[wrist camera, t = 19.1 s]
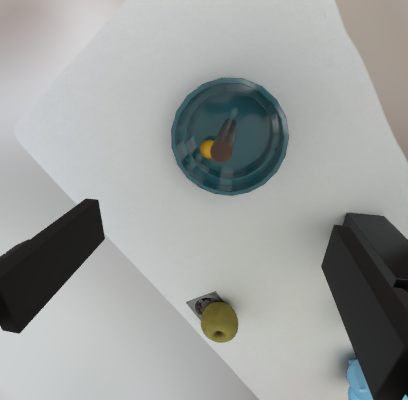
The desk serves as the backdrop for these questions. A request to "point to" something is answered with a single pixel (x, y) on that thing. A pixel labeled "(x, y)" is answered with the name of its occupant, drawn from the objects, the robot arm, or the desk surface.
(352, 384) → the teapot
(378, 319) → the robot arm
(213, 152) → the stick
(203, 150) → the ball
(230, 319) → the apple
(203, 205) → the desk surface
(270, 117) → the bowl
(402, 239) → the holder
